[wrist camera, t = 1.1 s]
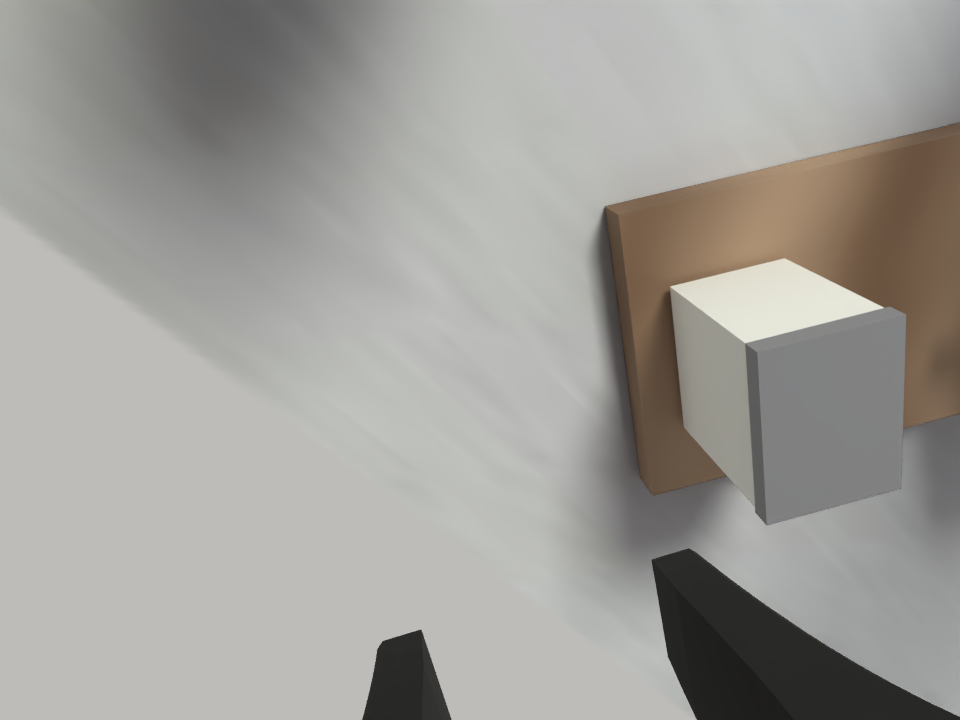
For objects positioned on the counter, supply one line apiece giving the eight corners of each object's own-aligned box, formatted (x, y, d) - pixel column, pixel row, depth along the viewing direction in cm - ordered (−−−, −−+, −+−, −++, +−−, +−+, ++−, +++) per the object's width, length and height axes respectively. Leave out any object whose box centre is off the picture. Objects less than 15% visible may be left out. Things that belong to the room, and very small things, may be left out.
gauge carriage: (786, 256, 20) (906, 314, 16) (793, 453, 22) (899, 549, 18) (668, 285, 19) (757, 352, 15) (687, 481, 22) (770, 586, 18)
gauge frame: (1116, 85, 21) (1396, 104, 15) (1081, 360, 24) (1302, 456, 19) (605, 206, 20) (709, 273, 14) (640, 477, 23) (736, 616, 17)
